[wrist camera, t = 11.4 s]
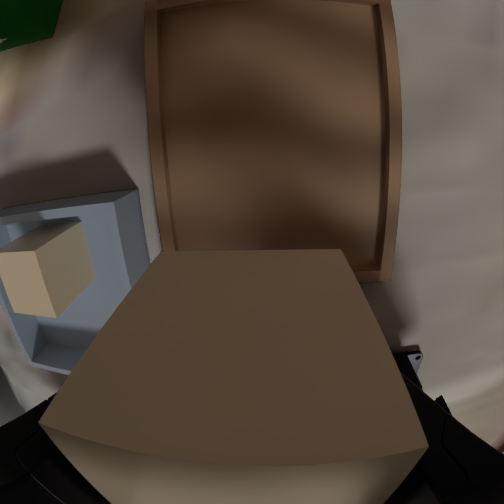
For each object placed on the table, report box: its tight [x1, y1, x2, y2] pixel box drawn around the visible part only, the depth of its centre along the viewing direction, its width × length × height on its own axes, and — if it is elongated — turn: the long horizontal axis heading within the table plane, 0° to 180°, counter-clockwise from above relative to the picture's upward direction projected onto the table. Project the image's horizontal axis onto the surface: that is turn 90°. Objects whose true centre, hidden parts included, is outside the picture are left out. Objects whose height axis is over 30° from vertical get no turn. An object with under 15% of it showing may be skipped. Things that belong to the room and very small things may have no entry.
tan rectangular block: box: [0, 221, 95, 318], centre depth 18 cm, size 4×4×6 cm
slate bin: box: [0, 189, 150, 375], centre depth 20 cm, size 14×14×4 cm
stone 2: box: [38, 249, 429, 504], centre depth 6 cm, size 4×4×6 cm
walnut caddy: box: [144, 0, 402, 283], centre depth 16 cm, size 19×15×1 cm
